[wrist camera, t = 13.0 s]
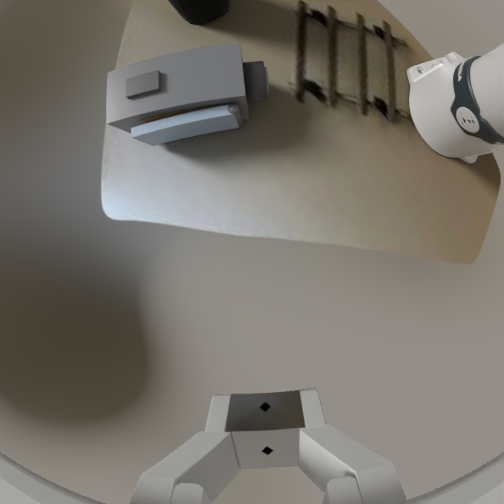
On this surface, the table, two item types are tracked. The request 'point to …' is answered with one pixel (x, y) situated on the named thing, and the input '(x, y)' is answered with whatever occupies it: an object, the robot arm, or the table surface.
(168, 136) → the side panel
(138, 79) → the camcorder body
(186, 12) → the portable speaker
